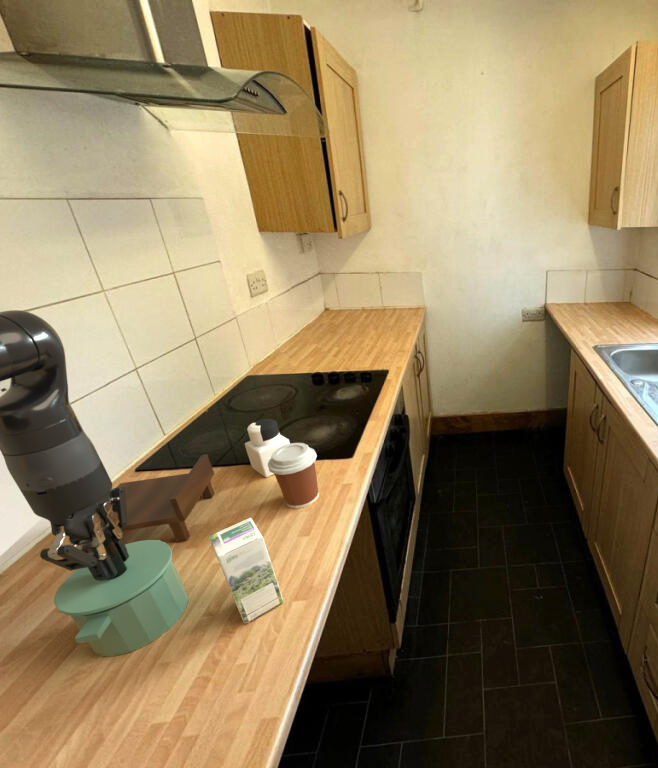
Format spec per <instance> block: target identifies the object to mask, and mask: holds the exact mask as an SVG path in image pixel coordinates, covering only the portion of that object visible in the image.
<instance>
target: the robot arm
mask: <svg viewBox="0 0 658 768" xmlns="http://www.w3.org/2000/svg"><path fill="white" fill-rule="evenodd" d="M66 358H67V357H66V351H65V347H64V343H63V341H62V339H61V337H60V335H59V334H58V332H57V331H56V329H55V328H53V326H52V325H51V324H50V323H48V322H47V321H46V320H45V319H44V318H43V317H40V316H38V315H37V314H34V313H32V312H29V311H26V310H21V309H20V310H18V309H14V310H13V309H11V310H4V311H0V382H1V383H2V382H3V381H6V380H10V381H9V382H10V383H9V387H8V389H7V390H6V391H5V392H4V393H3V394H2V395H0V453H1V455H2V457H3V459H4V462H5V465H6V468H7V470H8V473H9V474H10V476H11V477H12V479H13V481H14V482H15V484H16V486H17V488H19V491H20V492H21V494H22V496H23V497H24V499H25V501H26V502H27V505H29V507H30V508H31V510H32V512H33V514H34V515H36V516H37V517H39V518H43V519H45V520H47V521H49V523H50V528H51V534H52V535H53V537H54V539H53V541H52V543H51V546H50V547H47V548H43V549H42V550H41V551H40V554H39V556H40V559H42V560H44V561H47V562H49V563H51V564H53V565H56V566H58V567H60V568H63V569H65V570H67V571H70V572H71V571H76V570H77V569H81V568H86V567H88V569H89V570H90V572H91V573H92V576H93V577H94V579H95V580H99V581H101V580H107V579H112V578H114V577H115V576H116V574H117V573H118V572H117V570H116V568H115V566H114V564H113V562H112V560H111V559H110V557H109V555H107V553H106V550H105V548H104V545H103V542H104V541H105V539H106V538H111V539H112V540H113V542H114V544H115V546H116V548H117V550H118V552H119V553H120V555H121V557H122V559H123V561H124V562H125V561H126V560H127V559H128V558H129V554H128V552H127V549H126V547H125V543H124V541H123V539H122V538H123V536H124V533H123V532H124V531H123V532H122V531H121V530H122V527H126V526H127V524H128V519H127V508H126V497H125V489H124V487H117V486H116V487H113V482H112V479H111V477H110V475H109V473H108V472H107V470H106V467H105V465H104V463H103V461H102V459H101V457H100V456H99V453H98V451H97V449H96V446H95V445H94V443H93V441H92V440H91V439H90V437H89V435H87V433H86V432H85V431H84V429H83V426H82V424H81V422H80V420H79V419H78V416H77V415H76V412H75V410H74V408H73V406H72V405H71V403H70V399H69V397H70V396H69V384H68V373H67V361H66V360H67V359H66ZM114 512H117V513H118V518H117V516H116V515H115V513H114ZM87 548H92V549H93V551H94V552H92V553H88V551H87Z"/></svg>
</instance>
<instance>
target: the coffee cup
mask: <svg viewBox="0 0 658 768" xmlns="http://www.w3.org/2000/svg"><path fill="white" fill-rule="evenodd" d="M317 457H318V455H317V452H316V450H315V449H314V448H312V447H309V445H308V444H307V443H304V442H293V443H292V442H290V444H288V445H284V446H282V447H280V448H278V449H277V450H276V451H274V452H273V454H272V456H271V459H270V460H269V462H268V464H267V465H268V468H269V471H270V472H272V473H274V474H273V475H274V476H275V479H276V481H277V483H278V486H279V488H280V491H281V494H282V496H283V498H284V500H285V503H286V506H287V507H288V508H290V509H302V508H305V507H308V506H310V505H311V504H313V503H315V502H316V501H317V500H318V499H319V497H320V492H319V485H318V479H317V471H316V464H315V462H316V460H317Z"/></svg>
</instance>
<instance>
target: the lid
mask: <svg viewBox="0 0 658 768" xmlns="http://www.w3.org/2000/svg"><path fill="white" fill-rule="evenodd" d="M158 540H159V539H145V540H139V541H137V540H136V541H133V542H129V543H124V545H125V547H126V549H127V552H128V554H129V558H128V559H127V560H126V561H125V562H124V561H123V559H122V557H121V555H120V553H119V552H118V550H117V548H116V546H115V544H114V542H113V540H112V539H111V538H106V539H105V541H104V542H103V545H104V548H105V550H106V553H107V555H109V557H110V559H111V560H112V562H113V564H114V566H115V568H116V570H117V572H118V573H117V574H116V576H115V577H114V578H112V579H107V580H101V581H99V580H95V579H94V577H93V576H92V573H91V572H90V570H89V569H88V567H86V568H81V569H76V570H74V571H73V572H72V573H71V574H70V575H69V576H67V578H66V579H64V581H63V582H62V583H61V584H60V586H59V587H58V589H57V591H56V592H55V595H54V599H53V602H54V606H55V608H56V609H57V610H58V612H60V614H63V615H66V616H69V617H71V616H81V615H88V614H93V613H97V612H101V611H104V610H107V609H109V608H112V607H115V606H117V605H119V604H121V603H123V602H125V601H127V600H129V599H131V598H133V597H134V596H136V595H138V594H139V593H141V592H142V591H144V590H145V589H147V588H148V587H149V586H151V585H152V584H153V583H154V582H155V581H156V580H157V579H158V578H159V577H160V576H161V575H162V574H163V573H164V572H165V571H166V569H167V568H168V566H169V565H170V563H171V560H172V561H173V551H172V548H171V546H170V545H169V544H168V543H166V542H164V541H162V540H160V541H158ZM89 550H90V552H91V553H92V552H94V551H93V549H92V548H89Z"/></svg>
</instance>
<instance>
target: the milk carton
mask: <svg viewBox="0 0 658 768" xmlns="http://www.w3.org/2000/svg"><path fill="white" fill-rule="evenodd" d="M208 538H209V541H210V544H211V546H212V548H213V550H214V553H215V556H216V558H217V561H218V563H219V566H220V567H221V568H220V569H221V571H222V573H223V576H224V579H225V581H226V584H227V586H228V588H229V591H230V593H231V596H232V598H233V601H234V604H235V605H236V608H237V609H238V613H239V615H240V617H241V619H242V621H243V624H244V625H248V624H249V623H251V622H253V621H254V620H257V619H258V618H260V617H261V616H263V615H265V614H266V613H268V612H270V611H271V610H273V609H276V608H277V607H278V606H280V605H282V604H283V603H284V597H283V595H282V592H281V589H280V585H279V582H278V580H277V577H276V574H275V573H276V572H275V571H274V567H273V564H272V561H271V557H270V555H269V551H268V549H267V546H266V542H265V539H264V536H263V535H262V533H261V532H260V530H259V529H258V527H257V525H256V524H255V522H254V520H253V518H252V517H248V518H246V519H244V520H241V521H240V522H237V523H235V524H233V525H231V526H228V527H226V528H224V529H221V530H219V531H217V532H215V533H212V534H211V535H208Z"/></svg>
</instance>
